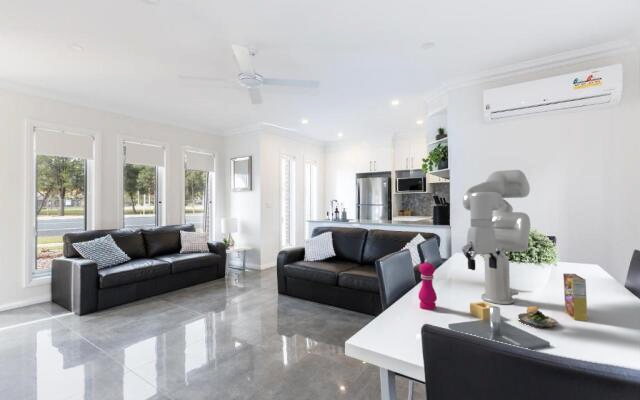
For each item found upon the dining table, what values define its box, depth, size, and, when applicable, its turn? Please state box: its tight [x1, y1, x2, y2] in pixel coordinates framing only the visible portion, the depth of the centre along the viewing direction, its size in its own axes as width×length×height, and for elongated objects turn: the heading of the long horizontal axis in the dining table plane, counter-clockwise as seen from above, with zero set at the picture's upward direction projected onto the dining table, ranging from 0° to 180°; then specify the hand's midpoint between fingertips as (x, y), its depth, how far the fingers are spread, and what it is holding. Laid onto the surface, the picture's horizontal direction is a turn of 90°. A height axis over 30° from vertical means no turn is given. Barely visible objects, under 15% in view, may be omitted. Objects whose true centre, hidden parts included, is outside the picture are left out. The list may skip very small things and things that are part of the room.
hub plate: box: [448, 305, 551, 350], centre depth 98 cm, size 20×20×9 cm
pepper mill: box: [417, 258, 437, 311], centre depth 126 cm, size 7×7×20 cm
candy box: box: [563, 273, 588, 322], centre depth 114 cm, size 9×4×15 cm, turn 158°
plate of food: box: [517, 301, 559, 330], centre depth 108 cm, size 12×12×8 cm
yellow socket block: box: [469, 301, 494, 320], centre depth 116 cm, size 7×7×5 cm
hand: (482, 268), depth 116 cm, fingers open, 9 cm apart
